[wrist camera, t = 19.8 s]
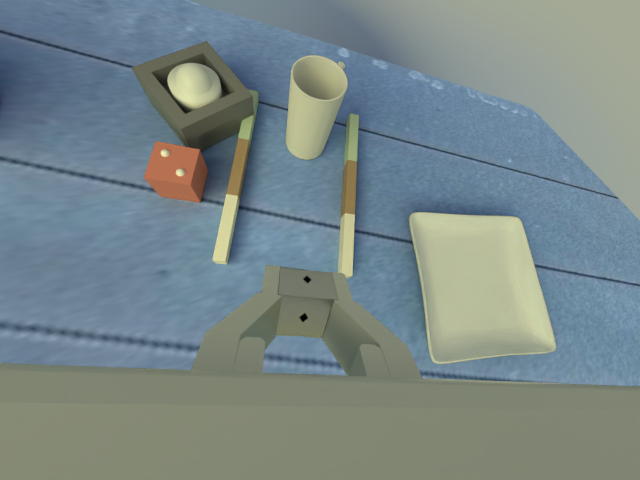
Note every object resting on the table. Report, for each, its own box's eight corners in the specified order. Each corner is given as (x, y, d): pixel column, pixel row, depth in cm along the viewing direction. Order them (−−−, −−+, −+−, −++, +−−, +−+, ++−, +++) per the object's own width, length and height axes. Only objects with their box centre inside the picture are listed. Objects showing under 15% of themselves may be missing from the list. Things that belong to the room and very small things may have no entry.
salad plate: (504, 221, 45) (523, 214, 42) (537, 348, 39) (561, 352, 36) (397, 218, 40) (409, 210, 37) (417, 361, 35) (432, 366, 32)
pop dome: (164, 89, 34) (150, 58, 30) (205, 72, 36) (198, 41, 32) (191, 123, 34) (181, 96, 30) (232, 104, 36) (228, 77, 32)
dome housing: (150, 102, 37) (131, 67, 31) (214, 76, 40) (206, 41, 35) (192, 155, 36) (180, 128, 31) (254, 124, 39) (252, 95, 34)
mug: (309, 169, 39) (326, 111, 28) (275, 143, 39) (278, 74, 28) (343, 131, 43) (371, 66, 31) (312, 107, 43) (329, 33, 31)
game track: (347, 277, 36) (352, 276, 34) (215, 263, 32) (212, 259, 31) (354, 123, 43) (358, 115, 42) (249, 99, 40) (248, 89, 38)
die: (200, 202, 34) (189, 183, 29) (160, 196, 33) (142, 175, 28) (208, 170, 36) (198, 147, 31) (170, 164, 35) (154, 138, 30)
